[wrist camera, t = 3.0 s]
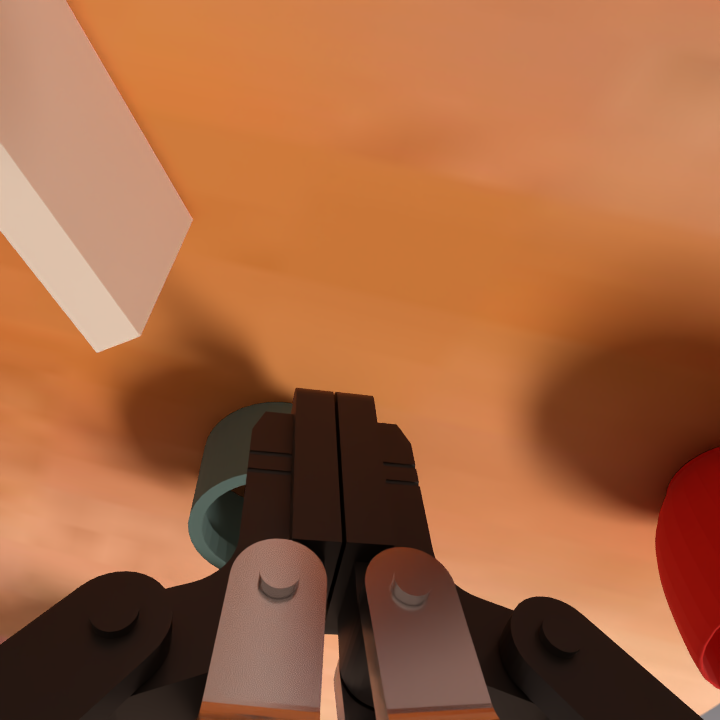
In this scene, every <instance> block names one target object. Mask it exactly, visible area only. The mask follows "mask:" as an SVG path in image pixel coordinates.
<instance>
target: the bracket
mask: <svg viewBox="0 0 720 720" xmlns="http://www.w3.org/2000/svg"><path fill="white" fill-rule="evenodd" d="M292 404H293V403H285V402H267V403H260V404H254V405H251V406H248V407H244V408H241V409H239V410H237V411H235V412H233V413H231V414H229V415H228V416H227V417H225V418H224V419H222V420H221V421H220V422H219V423H218V424H217V425H216V426H215V427H214V428H213V430H212V432H211V433H210V435H209V437H208V439H207V442H206V445H205V449H204V453H203V458H202V462H201V467H200V471H199V476H198V481H197V485H196V490H195V494H194V499H193V503H192V508H191V512H190V517H189V522H188V529H189V535H190V538H191V541H192V543H193V545H194V547H195V548H196V550H197V551H198V552H199V553H200V554H201V556H202V557H203V558H204V559H206V560H207V561H208V562H209V563H211V564H212V565H214V566H215V567H217V568H219V569H221V568H222V567H223V566H224V565H225V564H226V563H227V562H228V561H229V560H230V559H231V557H232V555H233V554H234V552H235V550H236V548H237V545H238V541H239V535H240V527H241V518H242V510H243V502H244V498H243V497H241V496H239V495H237V494H236V493H234V492H232V491H231V490H232V489H234V488H236V487H239V486H242V485H246V477H247V468H248V460H249V451H250V443H251V435H252V428H253V427H254V426H255V424H256V423H257V422H258V421H259V419H260V418H261V417H262V415H263V414H264V413H265V412H266V411H267V412H277V413H286V414H291V411H292Z"/></svg>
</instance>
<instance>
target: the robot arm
mask: <svg viewBox="0 0 720 720" xmlns="http://www.w3.org/2000/svg"><path fill="white" fill-rule="evenodd" d="M418 483H419V481H418V476H417V471H416V469H415V461H414V457H413V452H412V447H411V443H410V442H409V441H408V439H407V438H406V437H405V435H404V434H403V432H402V431H401V430H400V428H399V427H398V426H397V425H396V424H386V423H377V417H376V410H375V403H374V398H373V396H368V395H359V394H350V393H341V392H335V394H334V393H333V392H330V391H321V390H312V389H303V388H296V389H295V393H294V398H293V404H292V411H291V414H286V413H277V412H267V411H266V412H265V413H264V414H263V415H262V417H261V418H260V419H259V421H258V422H257V423H256V424H255V426H254V427H253V428H252V435H251V443H250V451H249V460H248V468H247V477H246V485H245V493H244V502H243V510H242V518H241V527H240V535H239V541H238V545H237V548H236V550H235V552H234V554H233V555H232V557H231V559H230V560H229V561H228V562H227V563H226V564H225V565H224V566H223V567H222V568H221V569H219V570H218V571H217V572H215V573H213V574H212V575H210V576H208V577H206V578H204V579H201V580H198V581H195V582H192V583H188V584H183V585H179V586H175V587H171V588H167V589H165V588H164V587H163V586H162V585H161V584H160V583H159V582H157V581H156V580H155V579H153V578H151V577H149V576H147V575H145V574H141V573H137V572H128V571H124V572H113V573H108V574H105V575H102V576H98V577H96V578H94V579H92V580H90V581H88V582H86V583H85V584H83V585H82V586H80V587H79V588H77V589H76V590H75V591H73V592H72V593H71V594H69V595H68V596H66V597H65V598H64V599H62V600H61V601H60V602H58V603H57V604H55V605H54V606H53V607H51V608H50V609H49V610H47V611H46V612H44V613H43V614H42V615H40V616H39V617H38V618H36V619H35V620H33V621H32V622H31V623H29V624H28V625H27V626H25V627H24V628H23V629H21V630H20V631H18V632H17V633H16V634H14V635H13V636H12V637H10V638H9V639H7V640H6V641H5V642H3V643H2V644H1V645H0V720H320V702H321V684H322V667H323V649H324V634H337V635H338V639H339V660H338V664H337V667H336V670H335V675H334V690H335V699H336V709H337V718H338V720H703V719H702V718H701V717H700V716H699V715H698V714H696V713H695V712H694V711H693V710H692V709H691V708H690V707H688V706H687V705H686V704H685V703H684V702H683V701H681V700H680V699H679V698H678V697H677V696H676V695H675V694H673V693H672V692H671V691H670V690H669V689H668V688H667V687H665V686H664V685H663V684H662V683H661V682H660V681H658V680H657V679H656V678H655V677H654V676H653V675H652V674H650V673H649V672H648V671H647V670H646V669H645V668H643V667H642V666H641V665H640V664H639V663H638V662H637V661H635V660H634V659H633V658H632V657H631V656H630V655H628V654H627V653H626V652H625V651H624V650H623V649H622V648H620V647H619V646H618V645H617V644H616V643H615V642H613V641H612V640H611V639H610V638H609V637H608V636H607V635H605V634H604V633H603V632H602V631H601V630H600V629H599V628H597V627H596V626H595V625H594V624H593V623H592V622H590V621H589V620H588V619H587V618H586V617H585V616H584V615H582V614H581V613H580V612H579V611H577V610H576V609H575V608H573V607H571V606H570V605H568V604H566V603H564V602H562V601H560V600H557V599H554V598H549V597H531V598H528V599H526V600H524V601H522V602H521V603H519V604H518V606H517V607H516V608H515V610H511V609H508V608H505V607H503V606H500V605H497V604H494V603H492V602H489V601H486V600H483V599H481V598H478V597H476V596H473V595H471V594H469V593H467V592H466V591H464V590H462V589H461V588H460V587H458V586H457V585H455V584H454V582H453V579H452V577H451V576H450V574H449V572H448V571H447V570H446V568H445V567H444V566H443V565H442V564H441V563H440V562H439V561H438V560H436V559H435V556H434V552H433V548H432V543H431V539H430V534H429V529H428V524H427V519H426V514H425V510H424V505H423V500H422V495H421V490H420V486H418Z"/></svg>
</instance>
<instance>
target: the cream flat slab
mask: <svg viewBox="0 0 720 720" xmlns="http://www.w3.org/2000/svg"><path fill="white" fill-rule="evenodd" d="M192 221H193V219H192V217H191V215H190V214H189V212H188V210H187V209H186V207H185V205H184V203H183V202H182V200H181V198H180V196H179V195H178V193H177V191H176V190H175V188H174V186H173V184H172V183H171V181H170V179H169V177H168V176H167V174H166V172H165V171H164V169H163V167H162V165H161V164H160V162H159V160H158V158H157V157H156V155H155V153H154V152H153V150H152V148H151V146H150V145H149V143H148V141H147V140H146V138H145V136H144V134H143V133H142V131H141V129H140V127H139V126H138V124H137V122H136V121H135V119H134V117H133V115H132V114H131V112H130V110H129V108H128V107H127V105H126V103H125V102H124V100H123V98H122V96H121V95H120V93H119V91H118V90H117V88H116V86H115V84H114V83H113V81H112V79H111V77H110V76H109V74H108V72H107V71H106V69H105V67H104V65H103V64H102V62H101V60H100V58H99V57H98V55H97V53H96V52H95V50H94V48H93V46H92V45H91V43H90V41H89V39H88V38H87V36H86V34H85V33H84V31H83V29H82V27H81V26H80V24H79V22H78V21H77V19H76V17H75V15H74V14H73V12H72V10H71V8H70V7H69V5H68V3H67V2H66V0H0V231H1V232H2V233H3V235H4V236H5V237H6V238H7V240H8V241H9V242H10V244H11V245H12V246H13V247H14V249H15V250H16V251H17V252H18V254H19V255H20V256H21V257H22V259H23V260H24V261H25V262H26V264H27V265H28V266H29V268H30V269H31V270H32V271H33V273H34V274H35V275H36V276H37V278H38V279H39V280H40V281H41V283H42V284H43V285H44V287H45V288H46V289H47V290H48V292H49V293H50V294H51V295H52V297H53V298H54V299H55V300H56V302H57V303H58V304H59V306H60V307H61V308H62V309H63V311H64V312H65V313H66V314H67V316H68V317H69V318H70V319H71V321H72V322H73V323H74V325H75V326H76V327H77V328H78V330H79V331H80V332H81V333H82V335H83V336H84V337H85V338H86V340H87V341H88V342H89V344H90V345H91V346H92V347H93V349H94V350H95V351H96V352H97V353H98V352H100V351H103V350H106V349H108V348H111V347H113V346H116V345H119V344H121V343H124V342H127V341H129V340H132V339H134V338H137V337H140V336H141V334H142V332H143V329H144V327H145V325H146V323H147V320H148V318H149V316H150V314H151V312H152V309H153V307H154V305H155V303H156V300H157V298H158V296H159V294H160V292H161V289H162V287H163V285H164V283H165V281H166V278H167V276H168V274H169V272H170V269H171V267H172V265H173V263H174V261H175V258H176V256H177V254H178V252H179V249H180V247H181V245H182V243H183V241H184V238H185V236H186V234H187V232H188V229H189V227H190V225H191V223H192Z"/></svg>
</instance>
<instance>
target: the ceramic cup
mask: <svg viewBox="0 0 720 720" xmlns="http://www.w3.org/2000/svg"><path fill="white" fill-rule="evenodd" d="M655 546H656V557H657V563H658V570H659V575H660V580H661V583H662V587H663V590H664V593H665V596H666V599H667V602H668V605H669V607H670V610H671V613H672V615H673V617H674V620H675V622H676V625H677V627H678V629H679V632H680V634H681V636H682V638H683V640H684V643H685V645H686V647H687V649H688V651H689V653H690V655H691V657H692V659H693V661H694V662H695V664H696V666H697V667H698V669H699V671H700V672H701V674H702V676H703V677H704V678H705V679H706V680H707V681H708V682H710V683H711V684H712V685H713V686H715V687H716V688H718V689H720V447H718V448H714V449H712V450H709V451H707V452H705V453H702V454H701V455H699V456H697V457H695V458H694V459H692V460H691V461H689V462H688V463H687V464H685V465H684V466H683V467H682V468H681V469H680V470H679V471H678V472H677V473H676V474H675V476H674V477H673V478H672V480H671V481H670V484H669V486H668V488H667V493H666V497H665V499H664V502H663V504H662V507H661V510H660V513H659V518H658V524H657V529H656V538H655Z"/></svg>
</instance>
